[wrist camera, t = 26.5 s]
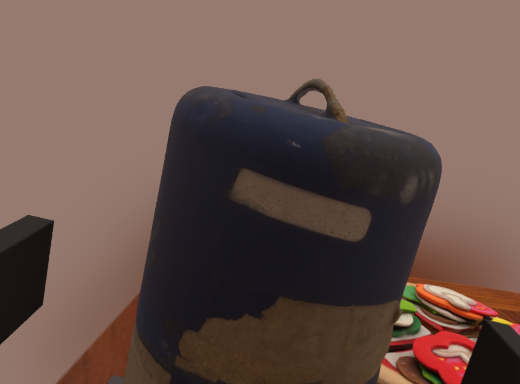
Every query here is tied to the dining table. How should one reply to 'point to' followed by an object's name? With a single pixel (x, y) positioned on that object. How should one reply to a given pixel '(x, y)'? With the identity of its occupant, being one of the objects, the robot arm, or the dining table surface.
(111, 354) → the dining table surface
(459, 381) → the toy pizza
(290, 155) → the canister
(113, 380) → the scale
